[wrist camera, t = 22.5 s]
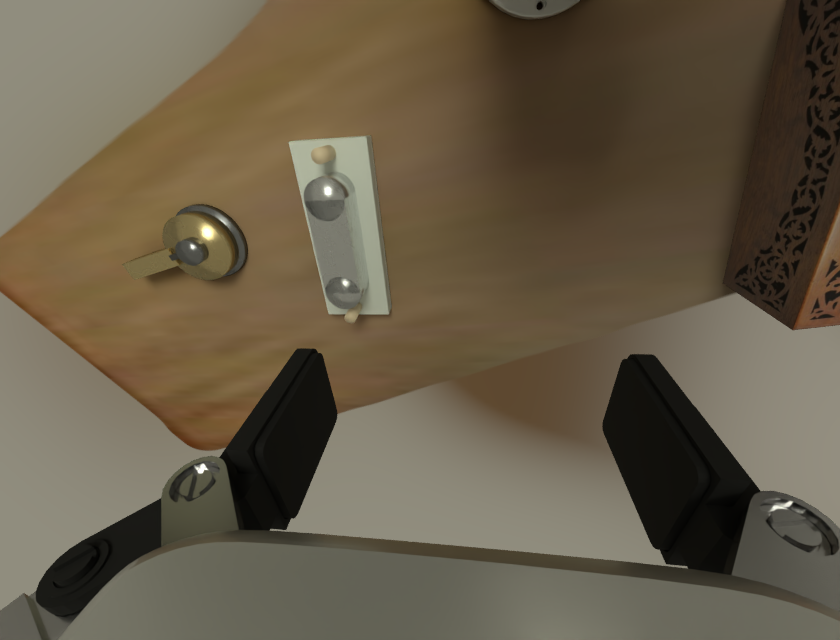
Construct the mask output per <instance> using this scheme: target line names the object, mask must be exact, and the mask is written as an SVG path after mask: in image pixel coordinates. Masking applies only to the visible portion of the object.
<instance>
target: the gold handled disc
mask: <svg viewBox="0 0 840 640" xmlns="http://www.w3.org/2000/svg"><path fill="white" fill-rule="evenodd" d="M163 243H164V246H165V248H164V249H161V250H158V251H155V252H153V253H150V254H147V255H144V256H141V257H138V258H135V259H133V260H131V261H129V262H126V263H124V264H122V265H123V266H124V268H125V269H126V270H127V271H128V273H129V274H130V275H131V277H132V278H133V279H134V280H136V279H139V278H142V277H145V276H148V275H151V274H154V273H157V272H160V271H164V270H167V269H170V268H173V267H176V266H178V267H179V268H181V269H182V270H183V271H184V272H186V273H188V274H189V275H191V276H193V277H196V278H199V279H203V280H215V279H218V278H220V277H222V276H223V275H225V274H226V273H228V272H229V271H231V270H232V269H233V268H234V267H235V266H236V264H237V262H238V259H239V249H238V244H237V242H236V239H235V237H234V235H233V234H232V232H231V231H230V230H229V228H228V227H227V226H226V225H225V224H224V223H223V222H222V221H220V220H219V219H218V218H216V217H214V216H213V215H211V214H208V213H205V212H202V211H189V212H186V213H183V214H180V215H178V216H175V217H173V218H171V219H170V220H168V221H167V223H166V224H165V226H164V229H163Z"/></svg>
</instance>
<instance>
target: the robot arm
mask: <svg viewBox="0 0 840 640" xmlns="http://www.w3.org/2000/svg"><path fill="white" fill-rule="evenodd" d="M489 1H490V2H491V3H492V4H493V5H494V6H496V7H497V8H498V9H499V10H500V11H502V12H504V13H506V14H508V15H510V16H513V17H517V18H521V19H526V20H531V19H544V18H547V17H551V16H554V15H557V14H559V13H561V12H563V11H565V10H567V9H569V8H571V7H573V6H574V5H575V4H576V3H578V2H579V1H580V0H489ZM537 3H541V4H542V9H541V10H538V9H537V7H536V6H537ZM336 420H337V409H336V405H335V401H334V397H333V393H332V390H331V386H330V382H329V378H328V374H327V371H326V367H325V363H324V359H323V356H322V354H321V353H318V352H317V350H316V349H297V350H296V351H295V352H294V353H293V355H292V356H291V358H290V359H289V360H288V362H287V363H286V365H285V366H284V368H283V369H282V370H281V372H280V373H279V375H278V376H277V377H276V379H275V380H274V382H273V383H272V385H271V386H270V387H269V389H268V390H267V391H266V392H265V394H264V395H263V397H262V398H261V399H260V401H259V402H258V404H257V405H256V407H255V408H254V409H253V411H252V412H251V414H250V415H249V416H248V418H247V419H246V421H245V422H244V424H243V425H242V426H241V428H240V429H239V431H238V432H237V433H236V435H235V436H234V438H233V439H232V440H231V442H230V443H229V445H228V446H227V448H226V449H225V450H224V452H223V453H222V455H221V456H220V457H214V456H208V457H202V458H199V459H196V460H193V461H191V462H190V463H188V464H186V465H184V466H183V467H182V468H180V469H179V470H178V471H177V472H175V473H174V474H173V476H172V477H171V478H170V479H169V480H168V482H167V483H166V485H165V487H164V488H163V492H162V497H161V499H159V500H157V501H155V502H153V503H152V504H150V505H148V506H146V507H144V508H142V509H141V510H139V511H137V512H135V513H133V514H131V515H129V516H127V517H126V518H124V519H122V520H120V521H118V522H117V523H115V524H113V525H111V526H109V527H107V528H106V529H103V530H102V531H100V532H98V533H96V534H94V535H92V536H90V537H89V538H87V539H85V540H83V541H81V542H80V543H78V544H77V545H75V546H74V547H72V548H70V549H69V550H68V551H67V552H65V553H64V554H63V555H62V556H60V557H59V558H58V559H57V560H56V561H55V562H54V563H53V565H52V566H51V567H50V568H49V569H48V570H47V571H46V573H45V574H44V576H43V577H42V579H41V581H40V582H39V585H38V587H37V590H36V592H34V593H33V594H31V595H30V596H28V595H26V594H25V593H23V594H22V595H21V596H19V597H18V598H17V599H15V600H14V601H13V602H11V603H10V604H9V605H7V606H6V607H5V608H3V609H2V610H1V611H0V640H840V529H839V528H838V527H837V526H836V525H835V524H834V522H833V521H832V520H831V519H829V518H828V517H827V516H826V515H824V514H823V513H821V512H820V511H819V510H818V509H816V508H815V507H813V506H811V505H809V504H807V503H806V502H804V501H802V500H800V499H797V498H795V497H793V496H790V495H787V494H784V493H780V492H775V491H760V490H759V488H758V487H757V486H756V485H755V483H754V482H753V481H752V479H751V478H750V477H749V476H748V474H747V473H746V472H745V470H744V469H743V468H742V467H741V465H740V464H739V463H738V461H737V460H736V459H735V458H734V456H733V455H732V454H731V452H730V451H729V450H728V448H727V447H726V446H725V445H724V443H723V442H722V441H721V439H720V438H719V437H718V436H717V434H716V433H715V432H714V430H713V429H712V428H711V427H710V425H709V424H708V423H707V421H706V420H705V419H704V418H703V416H702V415H701V414H700V412H699V411H698V410H697V408H696V407H695V406H694V405H693V404H692V403H691V401H690V400H689V399H688V398H687V396H686V395H685V394H684V392H683V391H682V390H681V389H680V387H679V386H678V385H677V384H676V382H675V381H674V380H673V378H672V377H671V376H670V374H669V373H668V372H667V370H666V369H665V368H664V367H663V365H662V364H661V363H660V361H659V360H658V359H657V358H656V357H655V356H654V355H644V354H632V355H630V356H629V357H628V359H624V360H622V362H621V365H620V368H619V371H618V374H617V378H616V381H615V384H614V387H613V391H612V394H611V397H610V400H609V404H608V407H607V410H606V413H605V417H604V420H603V432H604V435H605V437H606V439H607V442H608V444H609V447H610V449H611V451H612V454H613V456H614V458H615V461H616V463H617V465H618V467H619V470H620V472H621V475H622V477H623V479H624V482H625V484H626V486H627V489H628V491H629V493H630V496H631V498H632V500H633V503H634V505H635V507H636V510H637V512H638V514H639V516H640V519H641V521H642V523H643V526H644V528H645V531H646V533H647V535H648V538H649V540H650V542H651V544H652V546H653V547H654V548H655V549H660V551H661V554H662V556H663V558H664V560H665V562H666V564H670V565H682V566H687V567H688V569H686V568H677V567H668V566H659V565H650V564H641V563H632V562H623V561H613V560H603V559H592V558H581V557H571V556H561V555H550V554H539V553H529V552H519V551H508V550H497V549H485V548H475V547H463V546H453V545H441V544H430V543H419V542H408V541H395V540H384V539H372V538H361V537H349V536H337V535H325V534H312V533H297V532H281V531H269V530H270V529H282V530H286V529H287V526H288V524H289V522H290V519H291V518H295V517H296V516H297V514H298V512H299V510H300V507H301V505H302V502H303V500H304V498H305V495H306V493H307V490H308V488H309V486H310V483H311V481H312V478H313V476H314V473H315V471H316V469H317V466H318V464H319V461H320V459H321V457H322V454H323V452H324V449H325V447H326V445H327V442H328V440H329V437H330V435H331V432H332V430H333V428H334V425H335V423H336Z"/></svg>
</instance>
